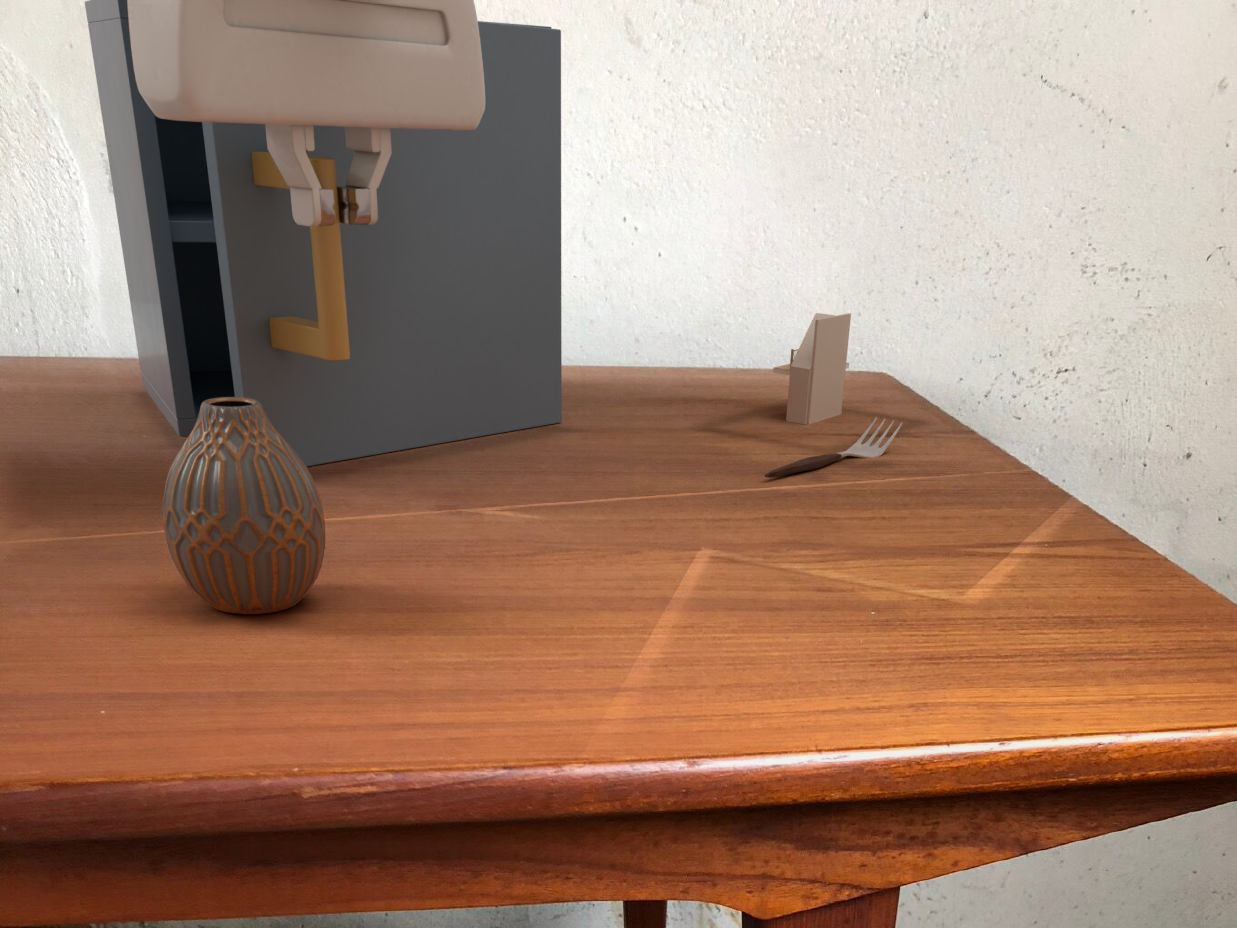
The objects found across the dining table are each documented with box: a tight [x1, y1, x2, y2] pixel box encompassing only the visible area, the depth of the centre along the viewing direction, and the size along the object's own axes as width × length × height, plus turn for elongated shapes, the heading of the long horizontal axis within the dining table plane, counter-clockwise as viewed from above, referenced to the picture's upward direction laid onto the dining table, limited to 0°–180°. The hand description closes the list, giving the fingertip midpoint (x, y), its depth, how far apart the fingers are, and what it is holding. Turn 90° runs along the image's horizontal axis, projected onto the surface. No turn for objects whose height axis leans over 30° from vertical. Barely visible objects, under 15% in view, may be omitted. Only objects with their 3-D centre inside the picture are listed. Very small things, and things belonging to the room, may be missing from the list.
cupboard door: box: [202, 20, 563, 468], centre depth 84 cm, size 7×26×24 cm, turn 140°
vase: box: [162, 397, 326, 615], centre depth 61 cm, size 7×7×9 cm
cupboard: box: [84, 0, 552, 438], centre depth 96 cm, size 18×26×24 cm
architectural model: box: [772, 312, 852, 425], centre depth 105 cm, size 3×7×7 cm, turn 148°
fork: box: [764, 416, 904, 479], centre depth 93 cm, size 3×16×2 cm, turn 144°
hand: (336, 224), depth 74 cm, fingers closed on cupboard door, 2 cm apart
